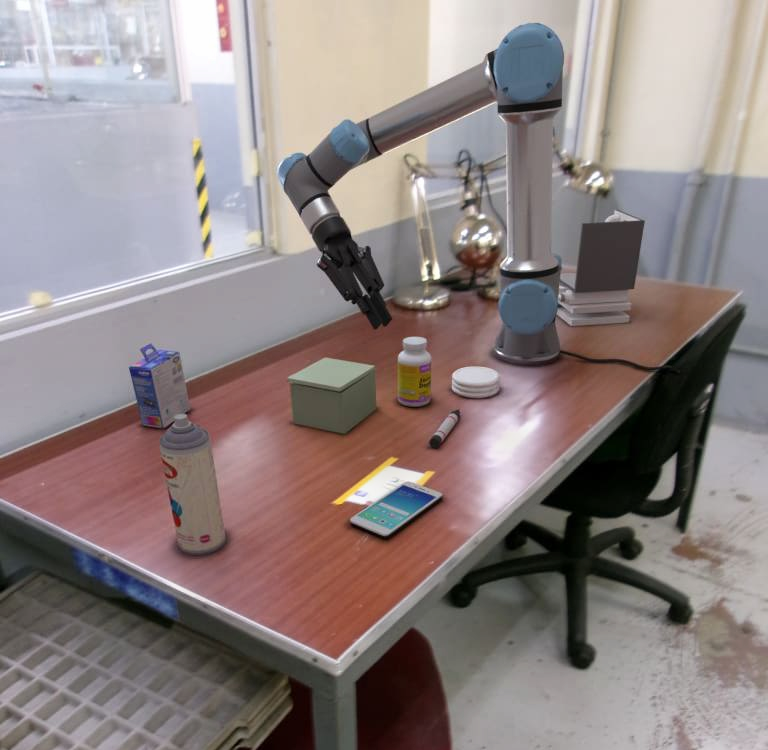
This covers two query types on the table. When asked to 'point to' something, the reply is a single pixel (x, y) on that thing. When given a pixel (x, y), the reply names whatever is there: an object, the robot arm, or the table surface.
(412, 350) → the supplement bottle
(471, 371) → the coaster
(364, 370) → the lid
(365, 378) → the chest
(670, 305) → the table surface
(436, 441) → the marker
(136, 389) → the ink cartridge box
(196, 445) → the aerosol can
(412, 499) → the smartphone
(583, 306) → the stack of books
